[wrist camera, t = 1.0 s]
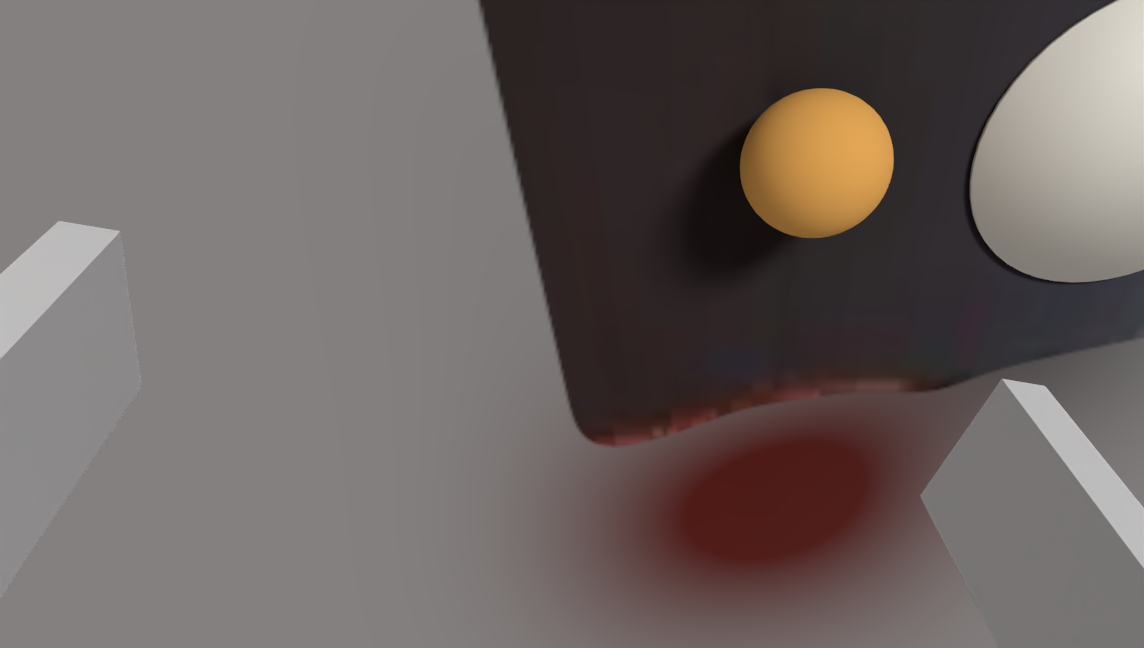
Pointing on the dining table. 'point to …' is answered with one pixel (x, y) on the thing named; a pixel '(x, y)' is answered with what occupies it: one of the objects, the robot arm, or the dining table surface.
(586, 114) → the dining table surface
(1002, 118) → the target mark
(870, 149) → the ball
